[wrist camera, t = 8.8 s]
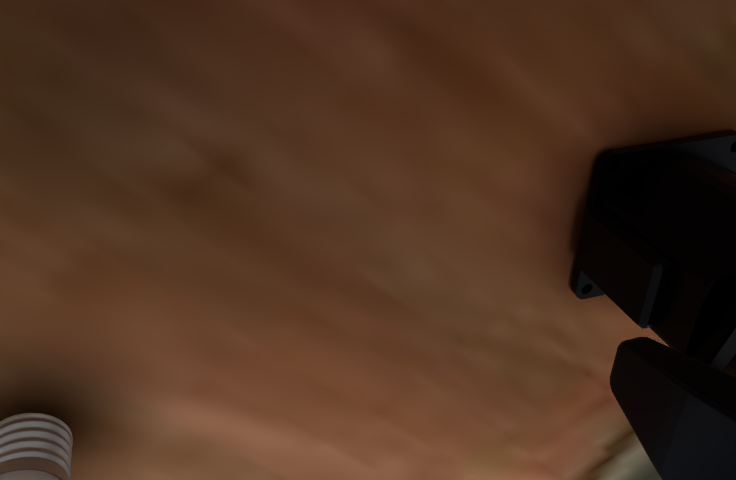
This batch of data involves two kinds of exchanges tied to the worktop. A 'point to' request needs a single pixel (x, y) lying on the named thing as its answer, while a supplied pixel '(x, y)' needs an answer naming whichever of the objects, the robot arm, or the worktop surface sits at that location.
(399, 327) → the worktop surface
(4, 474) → the lightbulb
